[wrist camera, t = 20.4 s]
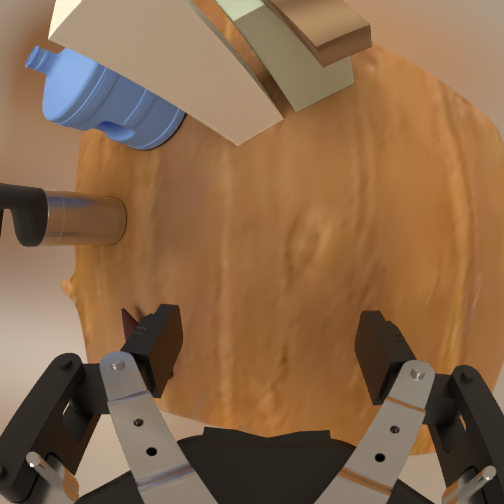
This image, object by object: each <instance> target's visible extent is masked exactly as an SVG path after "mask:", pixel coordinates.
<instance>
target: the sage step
mask: <svg viewBox="0 0 504 504" xmlns="http://www.w3.org/2000/svg"><path fill="white" fill-rule="evenodd" d="M214 1H215V2H216V3H217V4H218V6H219V7H220V8H221V9H222V10H223V12H224V13H225V14H226V15H227V17H228V18H229V19H230V20H231V22H232V23H233V24H234V25H235V27H236V28H237V29H238V31H239V32H240V33H241V35H242V36H243V37H244V39H245V40H246V41H247V43H248V44H249V45H250V47H251V48H252V49H253V51H254V52H255V54H256V55H257V56H258V58H259V59H260V61H261V62H262V63H263V65H264V66H265V68H266V69H267V71H268V72H269V73H270V75H271V76H272V78H273V79H274V81H275V82H276V83H277V85H278V86H279V88H280V89H281V91H282V92H283V94H284V95H285V97H286V98H287V100H288V101H289V103H290V104H291V106H292V107H293V109H294V111H295V112H296V113H297V112H298V111H300V110H302V109H304V108H306V107H308V106H310V105H312V104H314V103H316V102H317V101H319V100H321V99H323V98H325V97H327V96H329V95H331V94H333V93H335V92H338V91H340V90H342V89H344V88H346V87H348V86H350V85H352V84H354V76H353V69H352V62H351V56H348V57H346V58H344V59H341V60H339V61H337V62H335V63H333V64H331V65H328V66H326V67H324V68H323V67H322V65H321V64H320V63H319V62H318V60H317V59H316V58H315V57H314V56H313V55H312V53H311V52H310V51H309V50H308V49H307V48H306V46H305V45H304V44H303V43H302V42H301V41H300V40H299V39H298V38H297V36H296V35H295V34H294V33H293V32H292V31H291V30H290V29H289V28H288V27H287V26H286V25H285V24H284V23H283V22H282V21H281V20H280V19H279V18H278V17H277V16H276V15H275V14H274V13H273V12H272V11H271V10H270V9H269V8H268V7H267V6H266V5H265V4H264V3H263V2H262V1H261V0H214Z"/></svg>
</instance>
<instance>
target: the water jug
mask: <svg viewBox="0 0 504 504" xmlns="http://www.w3.org/2000/svg"><path fill="white" fill-rule="evenodd" d="M25 67H27V68H28V67H31V68H33V69H34V70H35V71H40V72H43V73H45V74H46V76H47V77H46V83H45V89H44V97H43V113H44V116H45V118H46V119H47V120H49V121H52V122H55V123H56V124H58V125H62V126H65V127H72V128H75V129H79V130H89V129H91V128H95V129H98V130H101V131H104V133H105V134H106V135H107V137H108V138H110V139H111V140H114V141H117V142H120V143H123V144H126V145H128V146H129V147H132V148H135V149H138V150H148V149H152V148H154V147H157V146H159V145H160V144H162V143H163V142H165V141H166V140H167V139H168V138H169V137H170V136H171V135H172V134H173V133H174V132H175V131H176V129H177V128H178V126H179V125H180V123H181V121H182V120H183V117H184V115H185V112H184V111H183V110H181V109H179V108H178V107H176V106H175V105H173V104H171V103H170V102H168V101H166V100H165V99H163V98H161V97H160V96H158V95H156V94H154V93H153V92H151V91H149V90H147V89H146V88H144V87H142V86H140V85H139V84H137V83H135V82H133V81H131V80H130V79H128V78H126V77H124V76H122V75H120V74H119V73H117V72H115V71H113V70H111V69H109V68H107V67H105V66H103V65H101V64H99V63H97V62H95V61H93V60H91V59H89V58H87V57H85V56H83V55H81V54H79V53H77V52H75V51H73V50H71V49H68V48H65V49H64V50H63V51H62V52H61V53H59V54H54V53H52V52H50V51H48V50H43V49H41V48H40V47H39V46H37V47H35V48H34V50H33V51H32V53H31V54H30V56H29V58H28V60H27V62H26V66H25Z"/></svg>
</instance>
